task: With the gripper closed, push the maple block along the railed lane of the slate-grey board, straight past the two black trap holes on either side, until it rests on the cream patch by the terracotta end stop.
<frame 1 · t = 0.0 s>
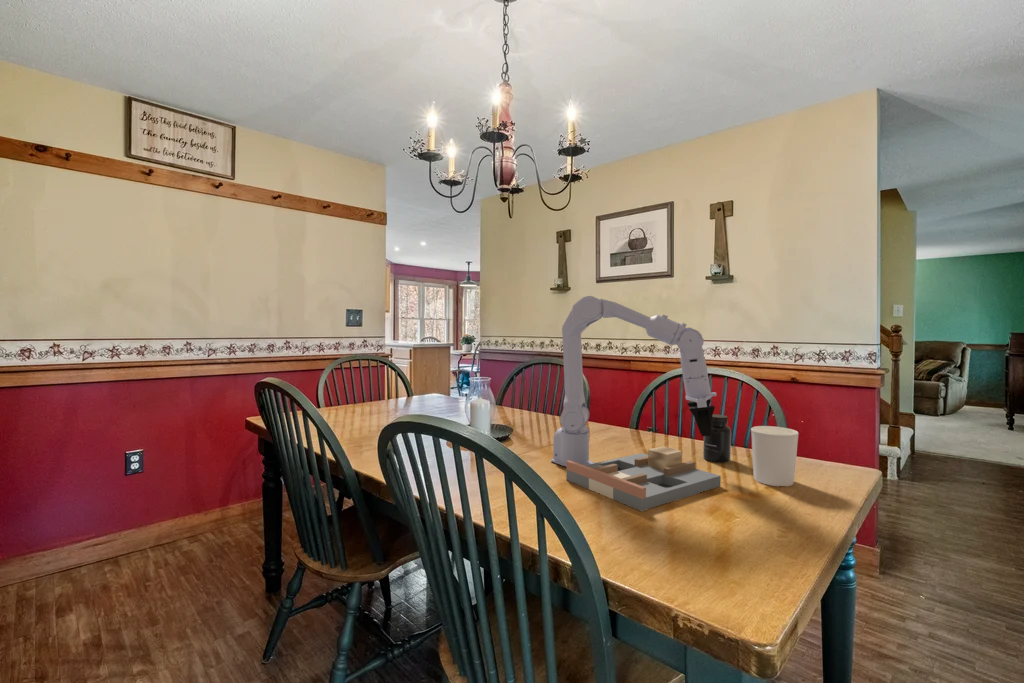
hand: (704, 432, 117), 11 cm above the table, tool pointing down, fingers open, 7 cm apart
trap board: (641, 483, 112), on the table
candle holder: (773, 481, 113), on the table
supplement bottle: (716, 460, 131), on the table
maple block: (664, 466, 116), point 2 cm above the table, touching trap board
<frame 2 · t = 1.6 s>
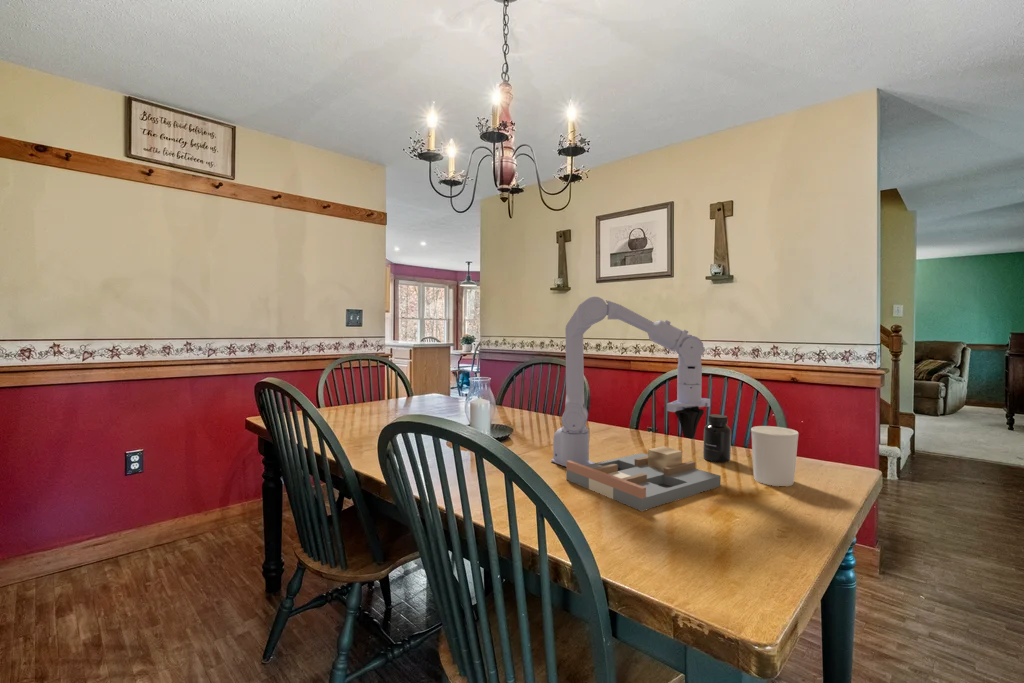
hand: (688, 437, 121), 8 cm above the table, tool pointing down, fingers closed
nothing on the table moved.
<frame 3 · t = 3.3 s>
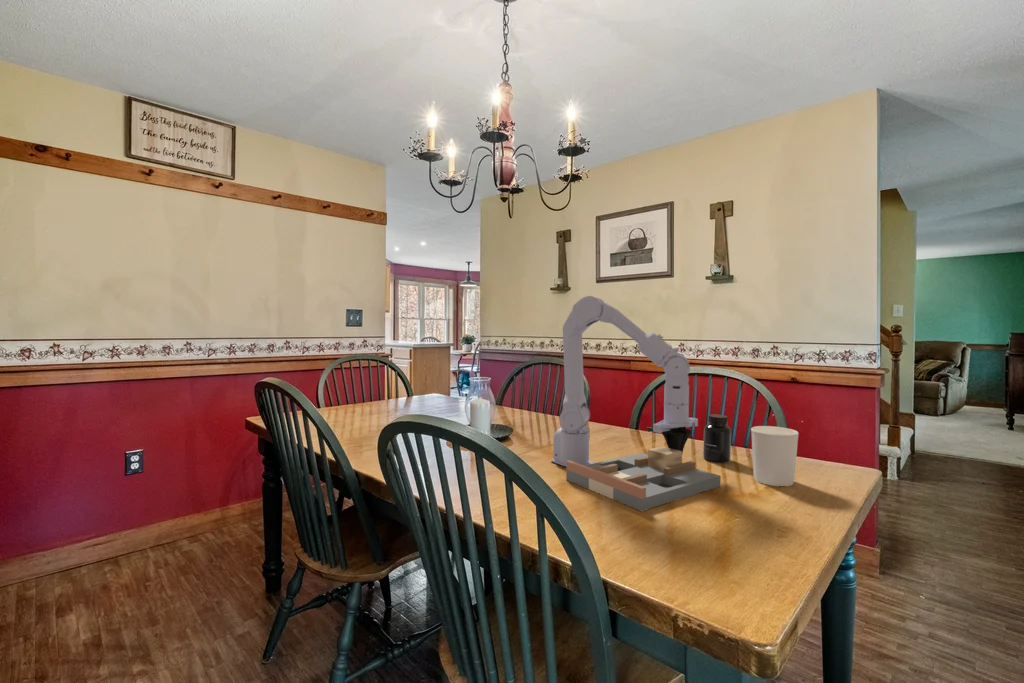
hand: (675, 458, 118), 4 cm above the table, tool pointing down, fingers closed
maple block: (664, 466, 116), point 3 cm above the table, touching gripper
everything else where it was.
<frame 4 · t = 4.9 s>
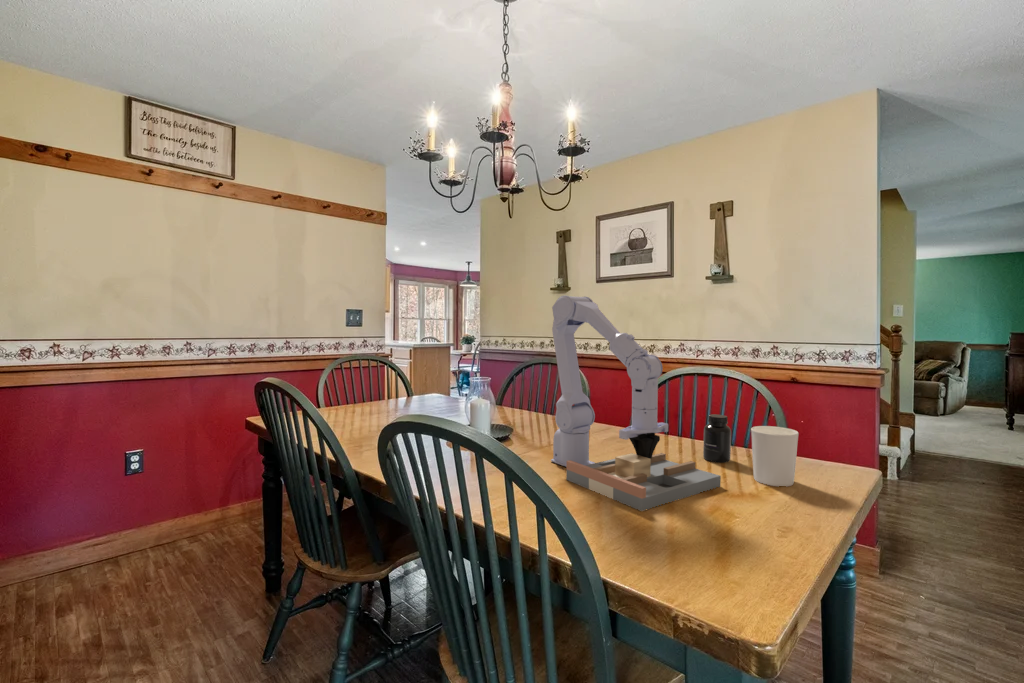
hand: (644, 465, 112), 4 cm above the table, tool pointing down, fingers closed
maple block: (632, 475, 110), point 3 cm above the table, touching gripper
everything else where it was.
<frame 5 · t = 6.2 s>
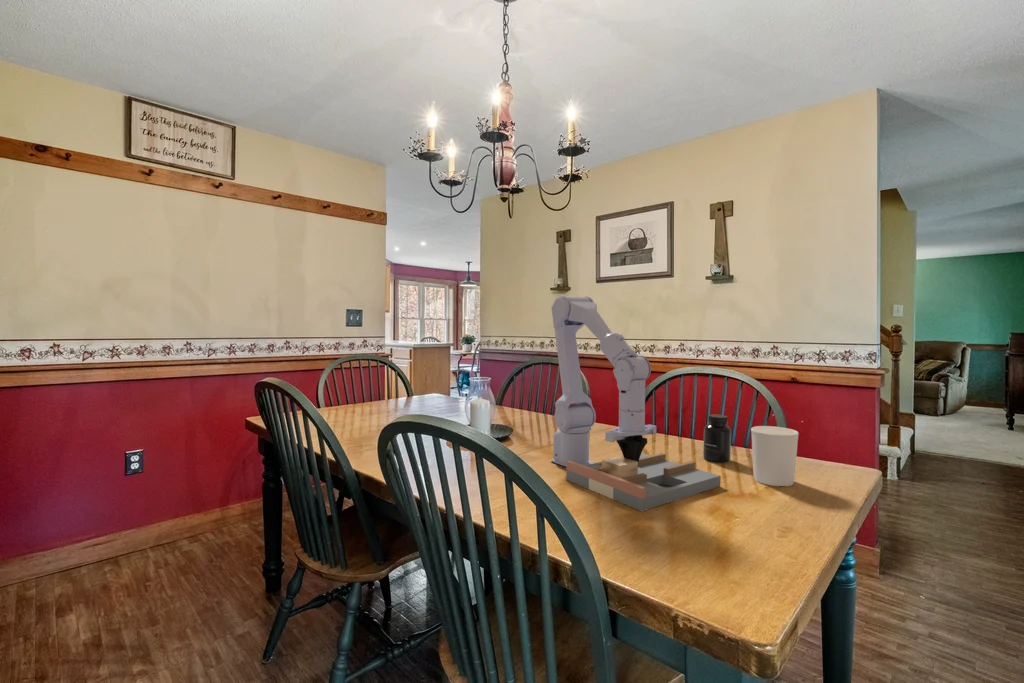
hand: (631, 468, 110), 4 cm above the table, tool pointing down, fingers closed
maple block: (619, 478, 107), point 2 cm above the table, touching gripper, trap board
everything else where it was.
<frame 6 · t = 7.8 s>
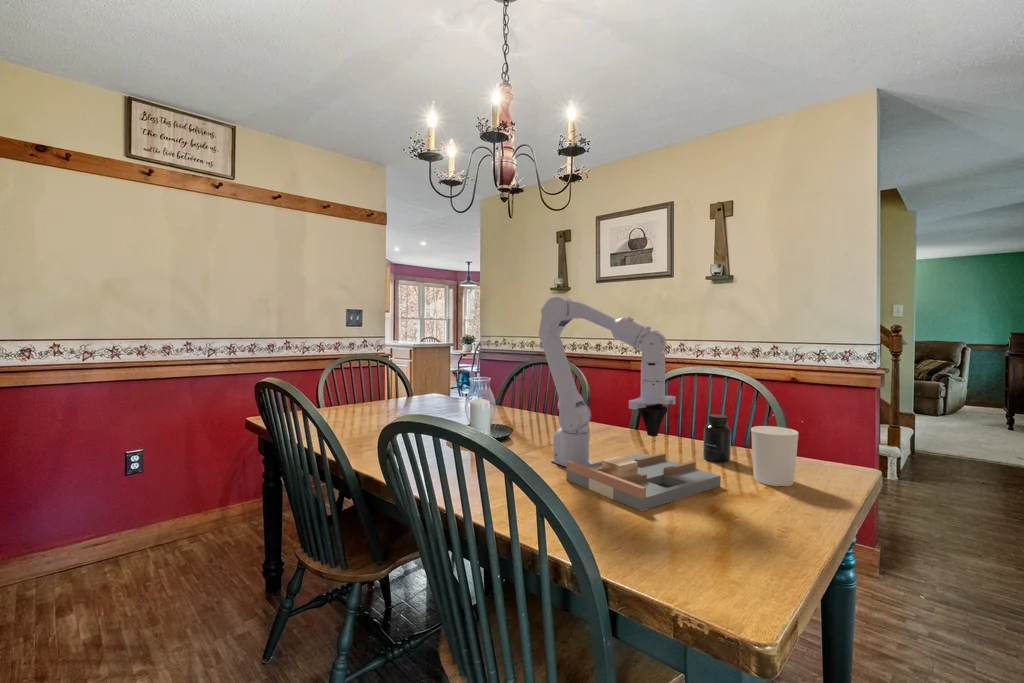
hand: (652, 435, 118), 9 cm above the table, tool pointing down, fingers closed
maple block: (619, 478, 107), point 2 cm above the table, touching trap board
everything else where it was.
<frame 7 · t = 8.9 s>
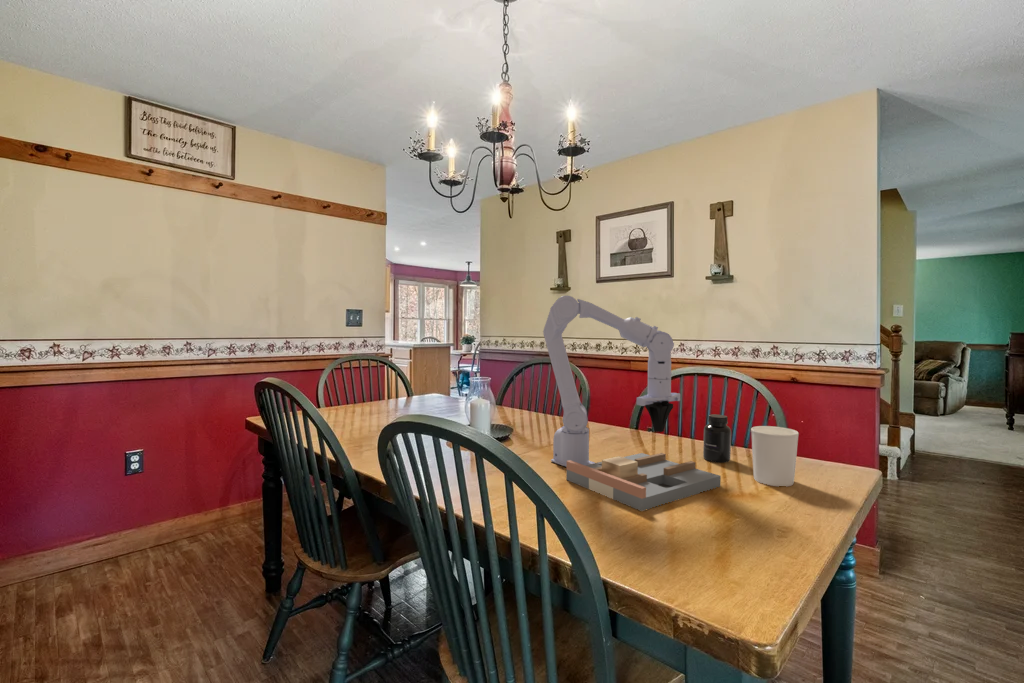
hand: (658, 431, 124), 9 cm above the table, tool pointing down, fingers closed
nothing on the table moved.
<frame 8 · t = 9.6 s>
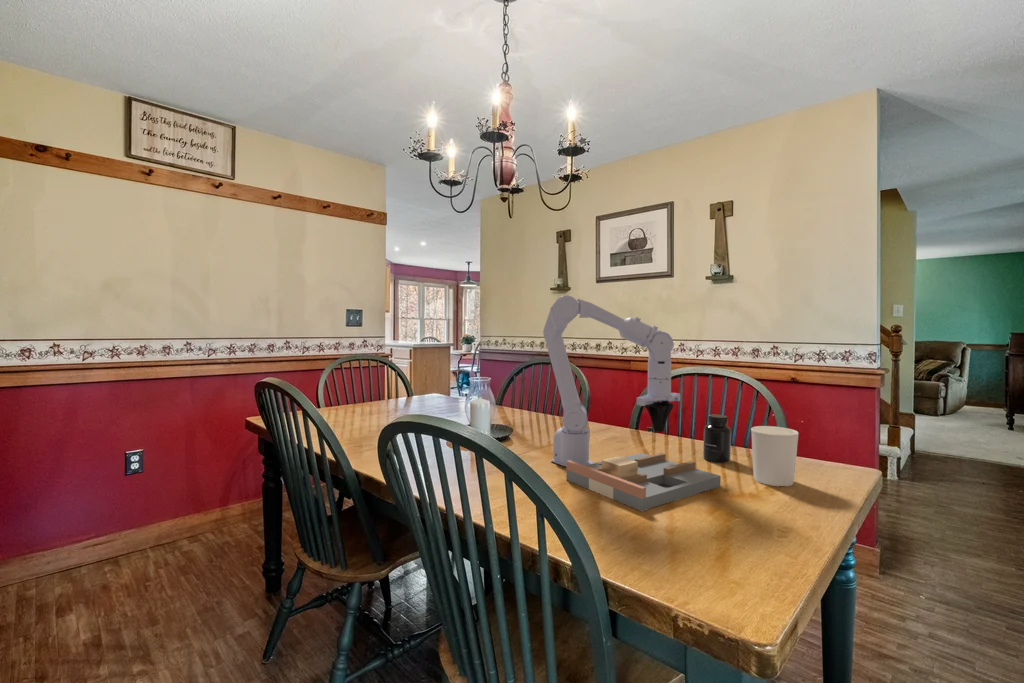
hand: (658, 431, 124), 9 cm above the table, tool pointing down, fingers closed
nothing on the table moved.
at the end: maple block inside the target area on the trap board (0.3 cm from its centre), point 2.5 cm above the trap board's base; maple block tilted 0° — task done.
